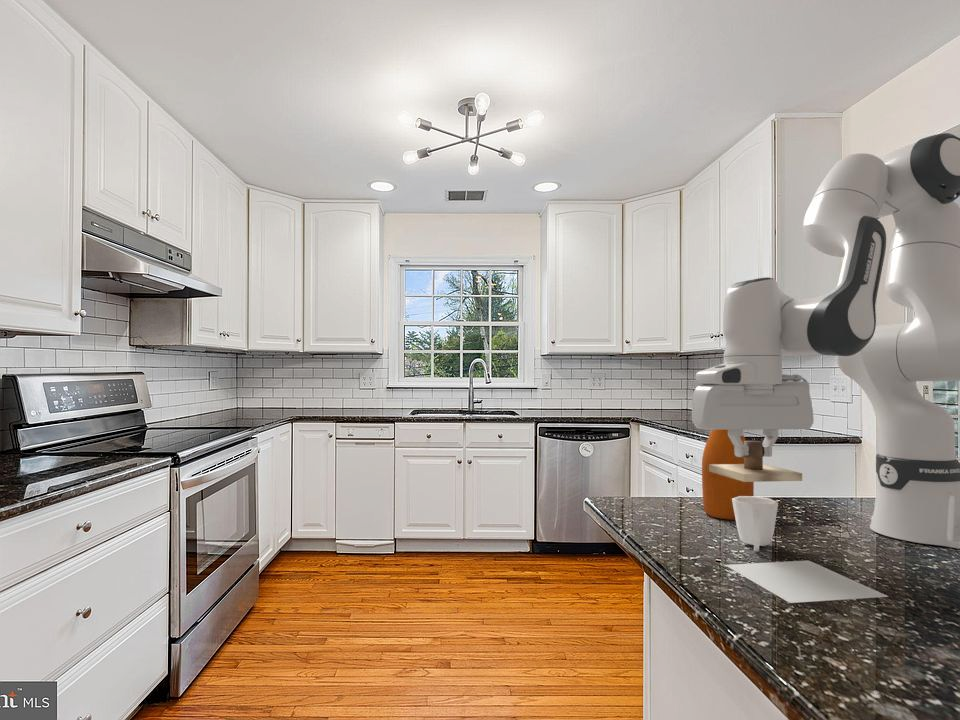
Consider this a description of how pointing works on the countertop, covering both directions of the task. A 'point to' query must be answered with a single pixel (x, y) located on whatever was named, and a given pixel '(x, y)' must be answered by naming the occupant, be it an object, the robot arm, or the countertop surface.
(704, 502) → the wine bottle
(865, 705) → the countertop surface
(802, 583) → the mat
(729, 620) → the countertop surface
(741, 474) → the lid
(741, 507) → the cup
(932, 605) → the countertop surface
